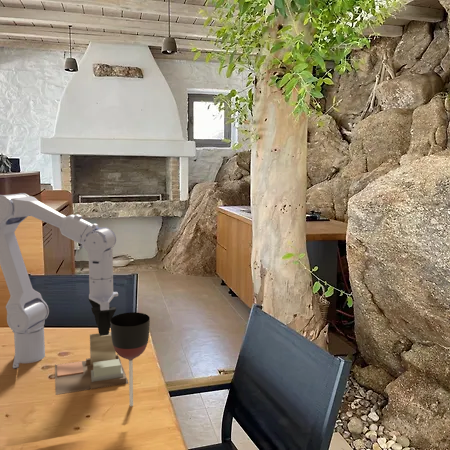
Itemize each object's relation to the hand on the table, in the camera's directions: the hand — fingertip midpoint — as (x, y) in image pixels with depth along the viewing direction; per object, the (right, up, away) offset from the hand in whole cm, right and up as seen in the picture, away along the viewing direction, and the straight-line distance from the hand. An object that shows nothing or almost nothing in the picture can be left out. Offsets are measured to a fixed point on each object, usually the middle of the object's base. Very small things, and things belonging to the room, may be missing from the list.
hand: (102, 329), depth 114 cm
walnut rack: (-2, -11, -4) cm, 12 cm away
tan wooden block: (0, -9, +1) cm, 9 cm away
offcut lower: (+3, -10, -7) cm, 13 cm away
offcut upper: (+3, -8, -7) cm, 11 cm away
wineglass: (+11, -13, -18) cm, 25 cm away
